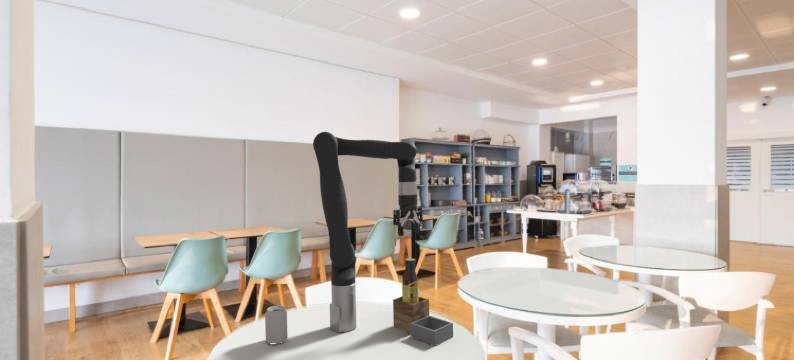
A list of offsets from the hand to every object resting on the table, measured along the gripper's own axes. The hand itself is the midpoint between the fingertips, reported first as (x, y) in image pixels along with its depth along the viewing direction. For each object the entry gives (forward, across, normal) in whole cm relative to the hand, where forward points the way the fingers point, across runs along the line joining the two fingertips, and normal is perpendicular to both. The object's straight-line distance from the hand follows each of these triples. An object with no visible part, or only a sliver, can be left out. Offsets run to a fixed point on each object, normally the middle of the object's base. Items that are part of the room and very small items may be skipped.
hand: (408, 234), depth 155 cm
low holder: (+35, +5, +15) cm, 38 cm away
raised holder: (+35, +3, +3) cm, 35 cm away
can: (+35, +46, -22) cm, 62 cm away
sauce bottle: (+29, +3, +3) cm, 29 cm away
